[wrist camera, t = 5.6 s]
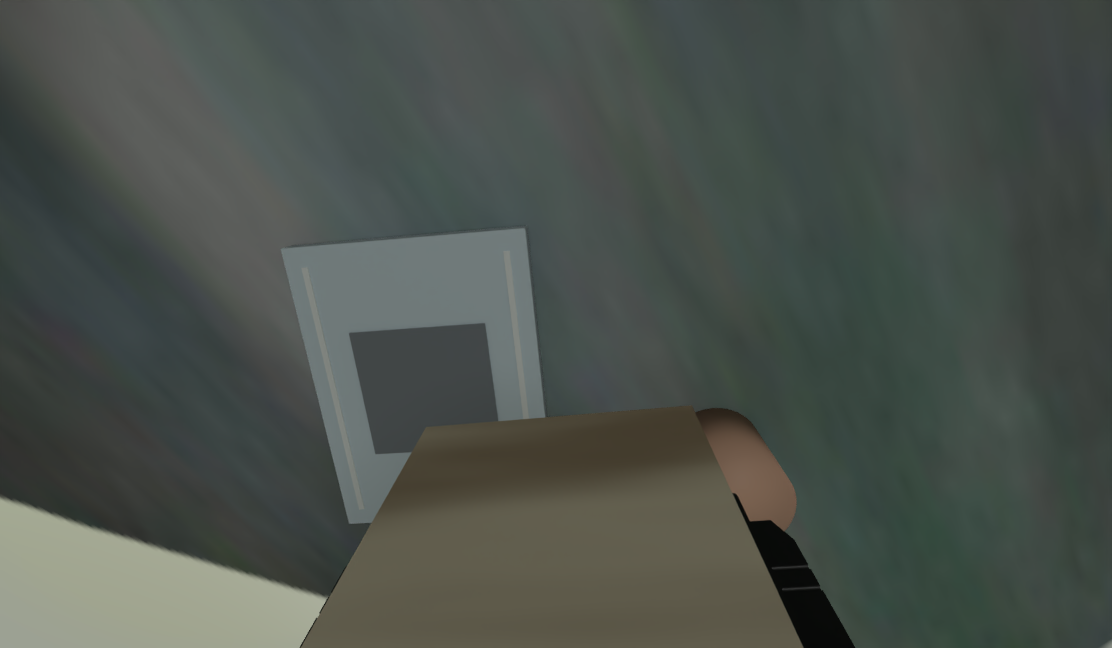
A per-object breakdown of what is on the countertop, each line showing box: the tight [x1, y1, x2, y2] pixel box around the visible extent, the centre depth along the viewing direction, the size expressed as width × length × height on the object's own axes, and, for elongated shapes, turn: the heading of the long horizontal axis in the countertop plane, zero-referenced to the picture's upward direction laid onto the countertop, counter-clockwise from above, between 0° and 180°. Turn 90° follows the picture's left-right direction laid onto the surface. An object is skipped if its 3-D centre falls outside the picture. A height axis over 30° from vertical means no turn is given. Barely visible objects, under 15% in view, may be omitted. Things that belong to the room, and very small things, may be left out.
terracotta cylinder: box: [696, 408, 796, 531], centre depth 26 cm, size 5×5×5 cm
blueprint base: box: [281, 226, 547, 524], centre depth 27 cm, size 16×12×1 cm
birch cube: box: [301, 406, 803, 648], centre depth 8 cm, size 5×5×5 cm
